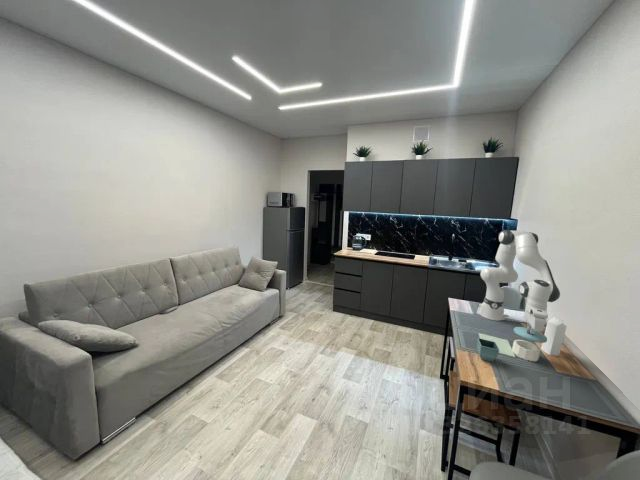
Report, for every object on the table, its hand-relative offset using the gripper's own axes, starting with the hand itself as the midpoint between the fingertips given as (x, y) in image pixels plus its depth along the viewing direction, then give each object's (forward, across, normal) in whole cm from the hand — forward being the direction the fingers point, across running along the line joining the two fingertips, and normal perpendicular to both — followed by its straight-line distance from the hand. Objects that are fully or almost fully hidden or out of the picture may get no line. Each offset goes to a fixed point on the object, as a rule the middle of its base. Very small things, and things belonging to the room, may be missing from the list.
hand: (530, 331), depth 147 cm
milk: (+15, -12, +15) cm, 24 cm away
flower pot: (+15, +17, -22) cm, 32 cm away
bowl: (+15, 0, 0) cm, 15 cm away
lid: (+2, 0, 0) cm, 2 cm away
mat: (+15, -3, -14) cm, 21 cm away
